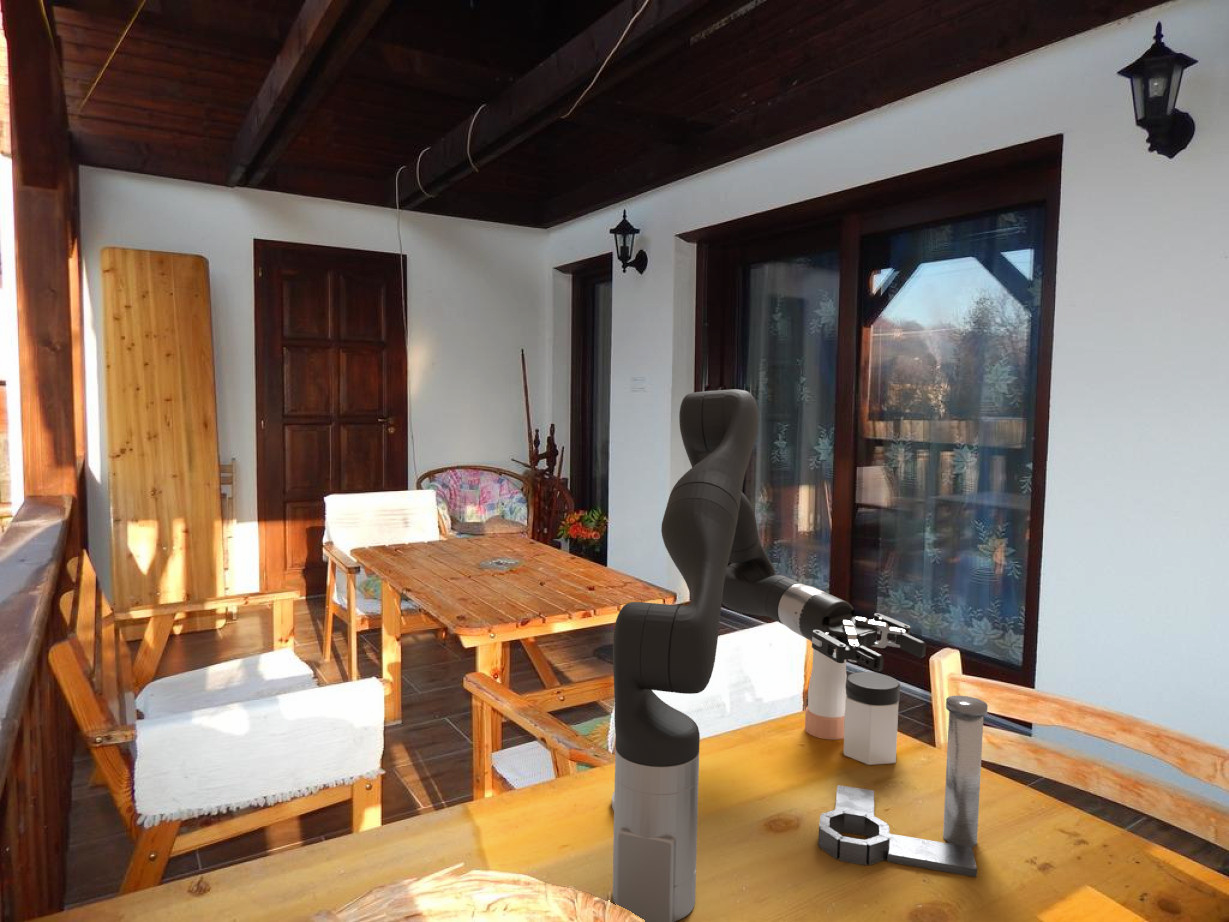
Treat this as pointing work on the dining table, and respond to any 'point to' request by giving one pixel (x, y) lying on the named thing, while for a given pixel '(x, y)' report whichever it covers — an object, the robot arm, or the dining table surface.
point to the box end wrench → (884, 838)
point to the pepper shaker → (826, 698)
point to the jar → (871, 718)
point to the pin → (963, 769)
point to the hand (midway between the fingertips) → (903, 657)
